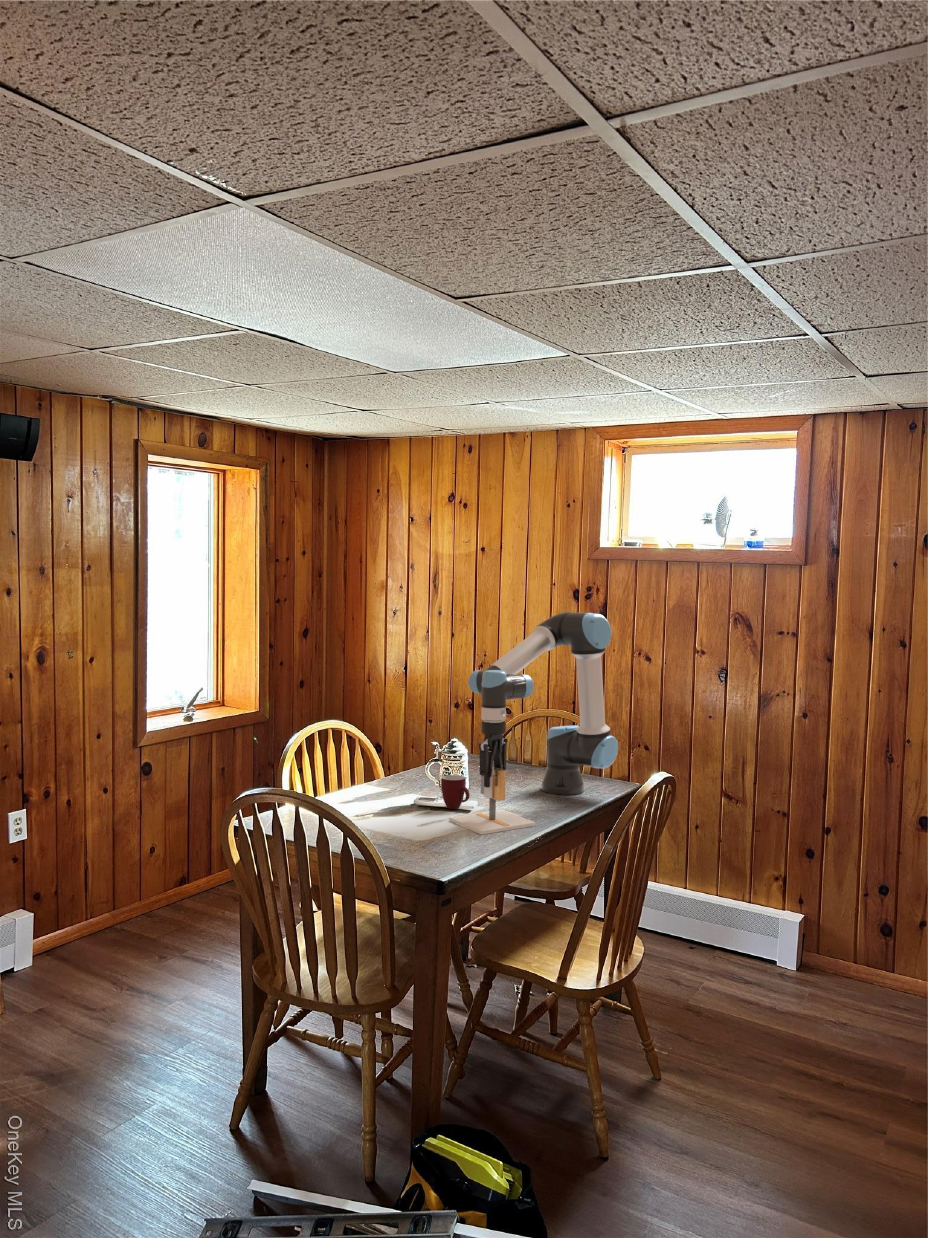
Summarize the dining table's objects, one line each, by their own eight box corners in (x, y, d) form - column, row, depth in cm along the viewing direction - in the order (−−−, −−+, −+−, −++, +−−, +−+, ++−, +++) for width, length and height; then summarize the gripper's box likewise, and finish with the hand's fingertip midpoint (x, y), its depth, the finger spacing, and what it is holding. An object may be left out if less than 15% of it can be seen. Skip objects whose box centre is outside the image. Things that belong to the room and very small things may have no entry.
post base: (502, 812, 295) (502, 788, 295) (535, 825, 280) (536, 799, 280) (449, 820, 284) (449, 795, 284) (481, 834, 269) (481, 807, 269)
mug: (476, 808, 300) (476, 778, 300) (463, 813, 294) (463, 782, 293) (449, 803, 306) (449, 774, 306) (436, 808, 299) (436, 778, 299)
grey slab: (480, 793, 286) (480, 764, 286) (487, 792, 287) (488, 763, 287) (497, 801, 276) (498, 771, 276) (505, 800, 277) (505, 770, 277)
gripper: (489, 725, 271) (488, 803, 272) (518, 718, 286) (517, 792, 287) (467, 723, 275) (467, 799, 276) (498, 716, 290) (497, 788, 291)
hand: (492, 795), depth 282 cm, fingers closed on grey slab, 4 cm apart
